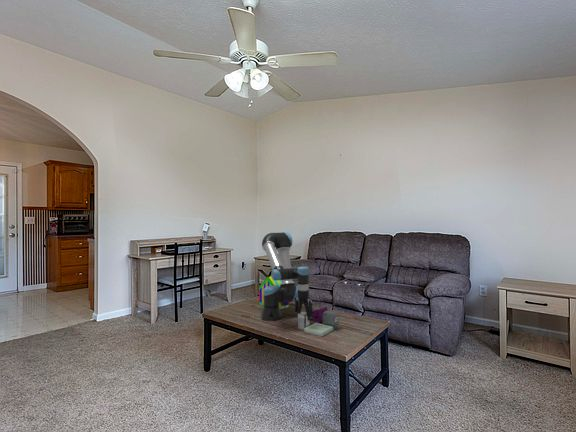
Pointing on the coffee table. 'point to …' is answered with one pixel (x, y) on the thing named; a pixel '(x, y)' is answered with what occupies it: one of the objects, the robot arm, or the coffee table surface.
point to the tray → (318, 329)
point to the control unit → (330, 319)
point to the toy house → (269, 282)
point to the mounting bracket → (318, 314)
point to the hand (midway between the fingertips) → (303, 324)
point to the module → (302, 320)
